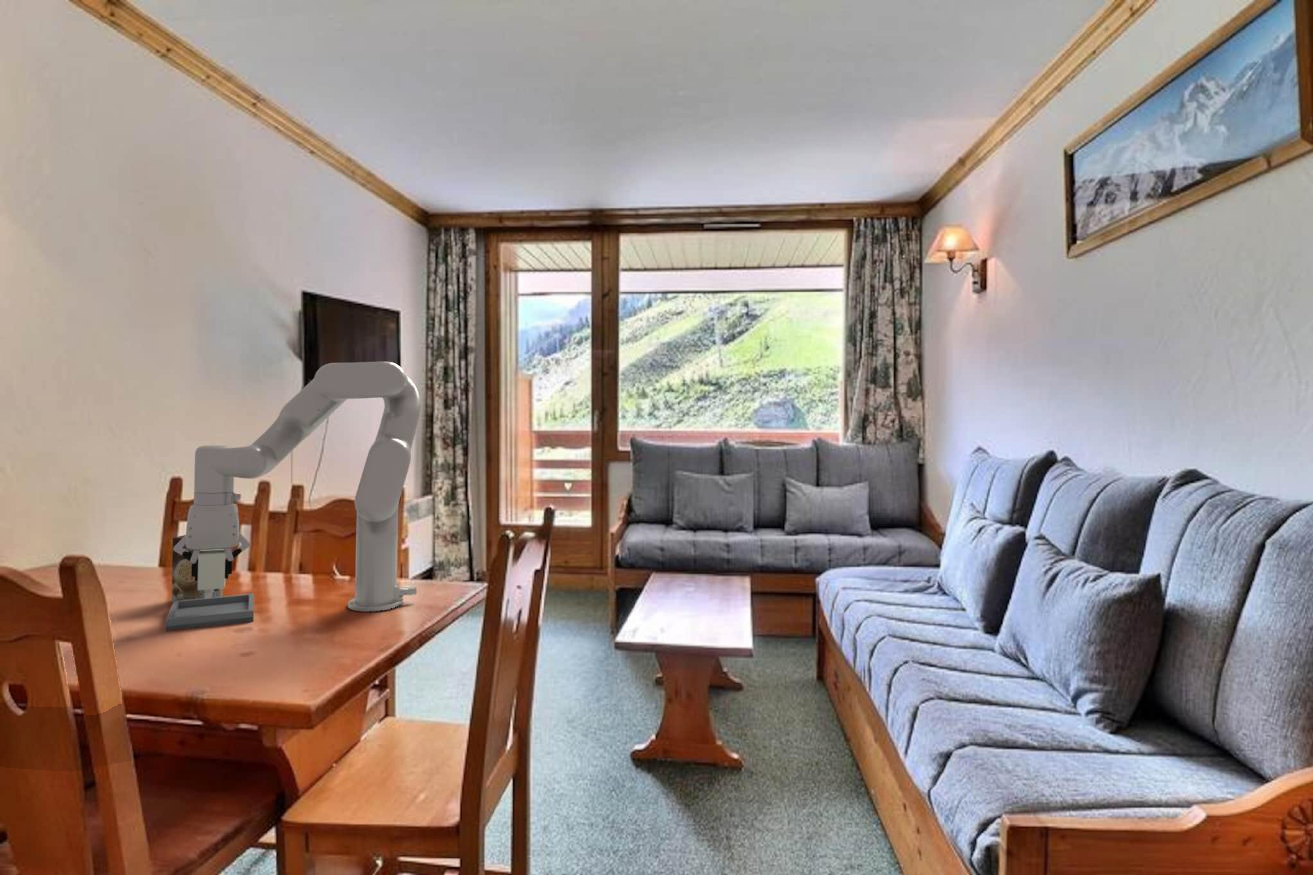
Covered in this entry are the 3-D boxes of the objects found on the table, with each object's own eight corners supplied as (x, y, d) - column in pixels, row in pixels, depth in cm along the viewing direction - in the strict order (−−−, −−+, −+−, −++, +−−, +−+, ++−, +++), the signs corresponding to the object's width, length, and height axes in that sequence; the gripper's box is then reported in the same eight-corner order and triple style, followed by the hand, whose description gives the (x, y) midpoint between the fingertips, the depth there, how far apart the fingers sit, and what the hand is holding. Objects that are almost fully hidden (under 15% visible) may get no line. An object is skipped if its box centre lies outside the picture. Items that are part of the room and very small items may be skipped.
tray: (253, 603, 163) (253, 593, 163) (253, 621, 149) (253, 610, 149) (173, 611, 155) (173, 601, 155) (165, 631, 141) (165, 619, 141)
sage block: (225, 582, 156) (226, 548, 155) (224, 588, 150) (225, 553, 150) (199, 584, 153) (200, 549, 153) (197, 590, 148) (198, 554, 148)
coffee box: (169, 602, 162) (170, 537, 161) (190, 595, 168) (191, 533, 168) (204, 604, 161) (205, 539, 160) (224, 597, 167) (224, 534, 167)
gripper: (257, 496, 159) (255, 572, 159) (169, 498, 150) (167, 578, 150) (257, 500, 152) (255, 578, 153) (165, 502, 144) (163, 585, 144)
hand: (211, 577), depth 152 cm, fingers closed on sage block, 5 cm apart
